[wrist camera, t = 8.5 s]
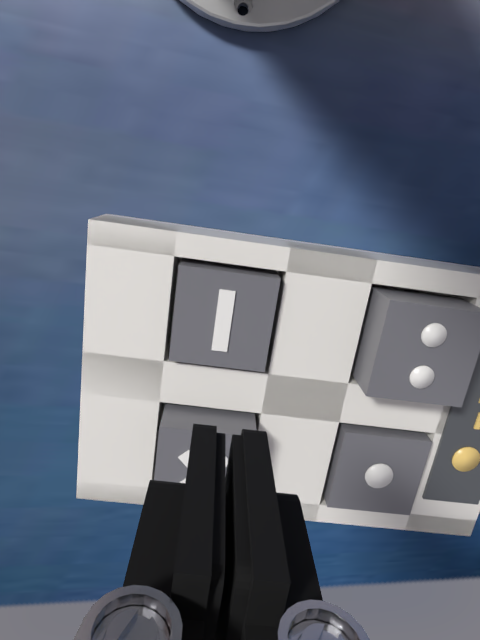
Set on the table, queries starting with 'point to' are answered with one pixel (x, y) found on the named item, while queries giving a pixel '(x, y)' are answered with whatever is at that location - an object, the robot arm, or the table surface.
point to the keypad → (280, 372)
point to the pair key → (417, 347)
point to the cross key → (179, 432)
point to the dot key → (375, 468)
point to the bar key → (223, 314)
